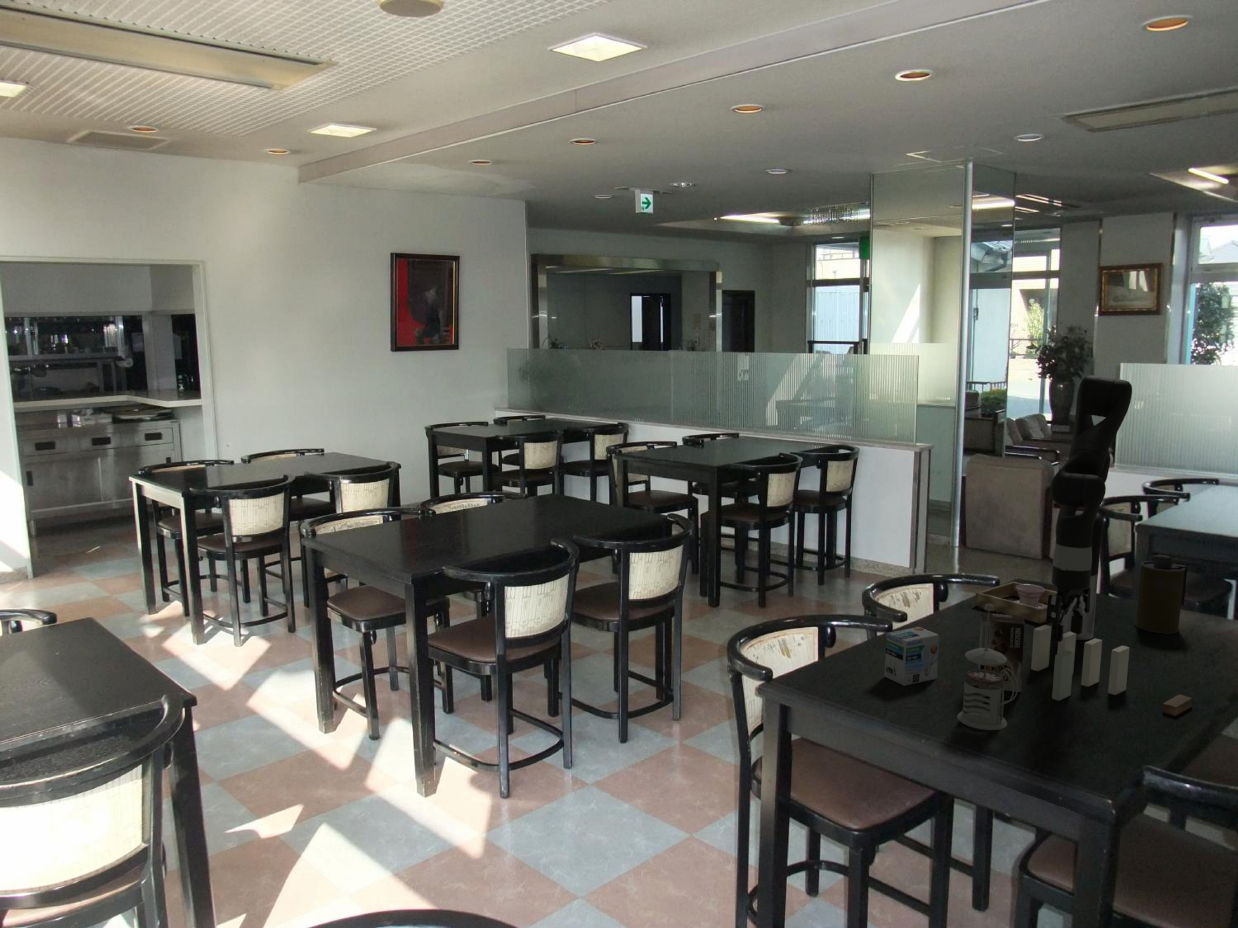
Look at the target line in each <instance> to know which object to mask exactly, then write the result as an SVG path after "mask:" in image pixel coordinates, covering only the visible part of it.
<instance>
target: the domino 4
mask: <svg viewBox="0 0 1238 928" xmlns="http://www.w3.org/2000/svg"><path fill="white" fill-rule="evenodd" d="M1130 648H1131V647H1128V646H1126V645H1120V646H1118V647H1115V648H1113V649H1111V654H1110V655H1111V657H1110V665H1109V675H1108V688H1107V693H1108V694H1110V695H1113V696H1117V695H1118V694H1121V693H1122V692H1124V691H1126V690H1127V679H1128V671H1129V670H1128V669H1129V658H1130V650H1131V649H1130Z"/></svg>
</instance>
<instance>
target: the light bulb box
mask: <svg viewBox="0 0 1238 928" xmlns="http://www.w3.org/2000/svg"><path fill="white" fill-rule="evenodd" d="M939 645H940V634H938V633H936V632H933V631H930V630H927V629H925V628H923V627H920V626H916V627H911V628H907V629H901V630H895V631H891V632H890V631H889V632H886V638H885V657H884V659H885V662H884V677H885V678H887V679H889V680H891V681H893V682H896V683H898V684H899V685H902V686H909V685H913V684H919V683H923V682H928V681H933V680H937V679H938V665H939V664H938V663H939Z"/></svg>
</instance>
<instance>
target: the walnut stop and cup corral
mask: <svg viewBox="0 0 1238 928" xmlns="http://www.w3.org/2000/svg"><path fill="white" fill-rule="evenodd" d="M1020 584H1022V583H1021V582H1017V581H1010V582H1007V583H1004V584H1000V585H997V586H994V587H990V588H988V589H984V590H982V591H977V592H975V597H974V598H975V600H974V602H975V603H974V606H975V607H976V606H979V607H978V608H980V607H981V608H980V609H984V607H985V605H986V604H992V605H993V607H994V610H993V611H992V612H995V611H997V612H996V613H999V612H1001V613H1000V614H1002V613H1004V614H1008V615H1019V616H1023V619H1024V621H1025V620H1026V621H1030V622H1033V623H1037V624H1045V623H1048V622H1047V621H1046V615H1047V606H1045V607H1042V608H1038V607H1034V606H1030V605H1026V604H1022V603H1018V602H1014V601H1015V600H1010V599H1006V598H1005V597H1007V598H1009V597H1008V596H1010V597H1013V596H1014V597H1017V596H1018V598H1020V596H1019V594H1018V591H1017V590H1016V586H1017V585H1020ZM1044 589H1045V588H1044ZM1056 594H1057V591H1055V590H1050V589H1045V592H1044V593H1043V594H1042V597H1040V600H1039V603H1042V604H1045V603H1047V604H1046V605H1048V596H1049V595H1056ZM1002 598H1004V599H1002ZM1051 616H1052V613H1051ZM1192 702H1193V698H1192V697H1190V696H1188V695H1184V694H1183V695H1182V694H1180V693H1179V694H1178V695H1176V696H1174V697H1172V698H1171V699H1168V700H1166V701H1165V702H1163V704H1162V713H1164V714H1166V715H1169V716H1173V717H1176V716H1178V715H1180V714H1182V713H1184V712H1185V711H1187V710H1189V709H1191V707H1192Z"/></svg>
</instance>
